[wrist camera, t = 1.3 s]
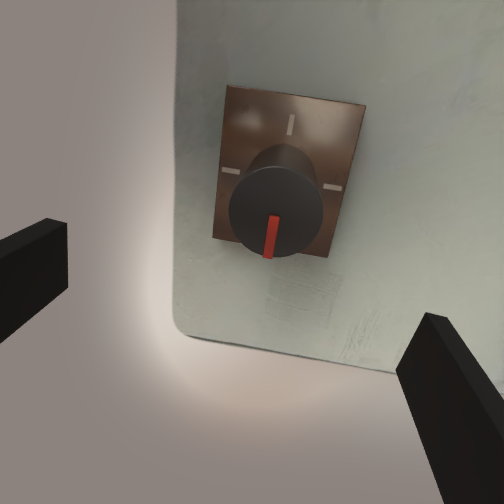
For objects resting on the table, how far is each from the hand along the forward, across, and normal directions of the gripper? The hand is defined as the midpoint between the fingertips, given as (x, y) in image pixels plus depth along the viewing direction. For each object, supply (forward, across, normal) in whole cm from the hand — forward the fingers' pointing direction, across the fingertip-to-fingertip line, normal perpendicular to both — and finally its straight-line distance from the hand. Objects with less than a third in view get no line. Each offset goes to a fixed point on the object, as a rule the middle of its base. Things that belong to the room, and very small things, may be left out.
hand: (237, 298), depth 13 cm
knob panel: (+18, +1, +1) cm, 18 cm away
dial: (+16, +1, +1) cm, 16 cm away
